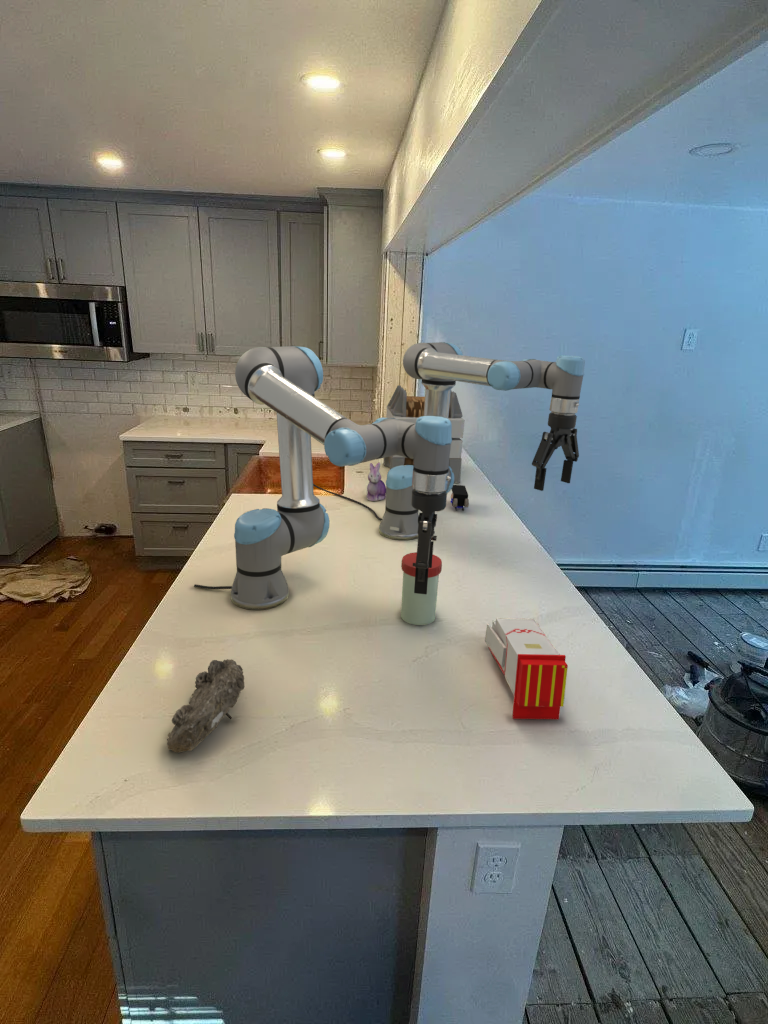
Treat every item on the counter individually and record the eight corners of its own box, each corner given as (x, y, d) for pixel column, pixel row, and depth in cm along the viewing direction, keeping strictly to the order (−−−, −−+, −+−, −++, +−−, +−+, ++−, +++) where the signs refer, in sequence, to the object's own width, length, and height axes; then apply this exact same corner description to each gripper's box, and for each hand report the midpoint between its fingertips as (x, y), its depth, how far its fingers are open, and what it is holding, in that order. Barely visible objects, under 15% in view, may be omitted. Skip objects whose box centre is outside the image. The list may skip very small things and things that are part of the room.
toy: (531, 603, 136) (576, 661, 106) (526, 655, 139) (569, 725, 109) (481, 602, 135) (512, 660, 106) (477, 654, 138) (507, 724, 109)
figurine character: (468, 516, 224) (463, 500, 237) (471, 498, 221) (465, 483, 234) (452, 515, 224) (447, 499, 237) (453, 498, 220) (449, 482, 234)
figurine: (371, 503, 230) (372, 467, 224) (360, 495, 238) (361, 460, 233) (391, 500, 234) (393, 465, 229) (380, 493, 242) (381, 459, 237)
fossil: (192, 660, 117) (244, 628, 112) (224, 691, 120) (276, 661, 115) (142, 746, 98) (202, 712, 93) (182, 779, 101) (242, 748, 96)
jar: (441, 621, 145) (446, 566, 140) (410, 628, 141) (414, 572, 136) (424, 605, 153) (428, 552, 147) (394, 611, 149) (397, 557, 144)
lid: (449, 574, 140) (449, 565, 139) (413, 580, 136) (413, 571, 135) (428, 558, 149) (429, 549, 148) (394, 564, 144) (394, 555, 144)
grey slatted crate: (382, 463, 289) (386, 382, 275) (445, 464, 293) (451, 384, 279) (390, 482, 257) (394, 392, 243) (460, 483, 261) (468, 394, 247)
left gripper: (443, 510, 109) (436, 607, 116) (449, 475, 132) (443, 558, 140) (405, 506, 110) (399, 603, 117) (417, 473, 133) (412, 555, 141)
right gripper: (548, 419, 148) (537, 496, 155) (598, 411, 163) (586, 482, 171) (525, 414, 153) (515, 489, 160) (575, 407, 169) (564, 476, 176)
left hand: (423, 579), depth 128 cm, fingers open, 13 cm apart
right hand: (552, 485), depth 166 cm, fingers open, 13 cm apart
